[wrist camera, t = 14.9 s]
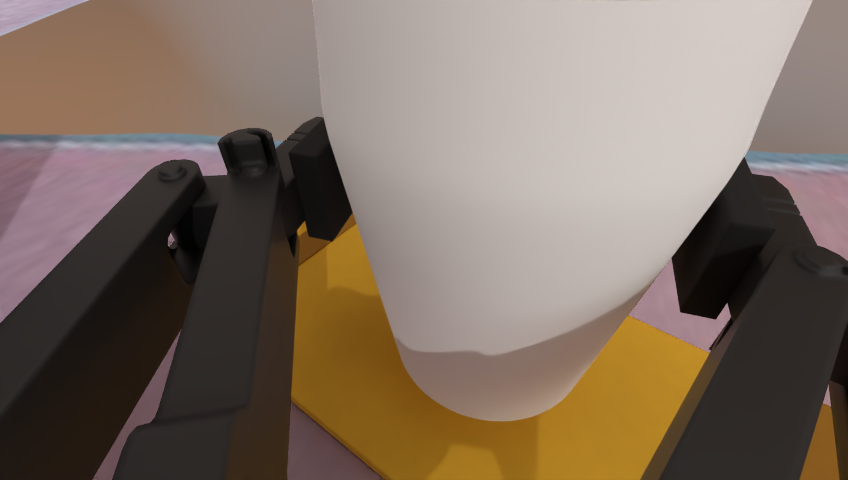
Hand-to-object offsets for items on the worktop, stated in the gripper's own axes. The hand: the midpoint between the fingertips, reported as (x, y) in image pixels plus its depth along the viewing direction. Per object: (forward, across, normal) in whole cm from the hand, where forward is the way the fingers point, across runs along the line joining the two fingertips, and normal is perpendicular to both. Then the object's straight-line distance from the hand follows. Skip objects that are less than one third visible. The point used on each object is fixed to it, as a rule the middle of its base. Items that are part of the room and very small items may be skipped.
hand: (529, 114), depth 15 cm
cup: (-5, 0, -7) cm, 8 cm away
